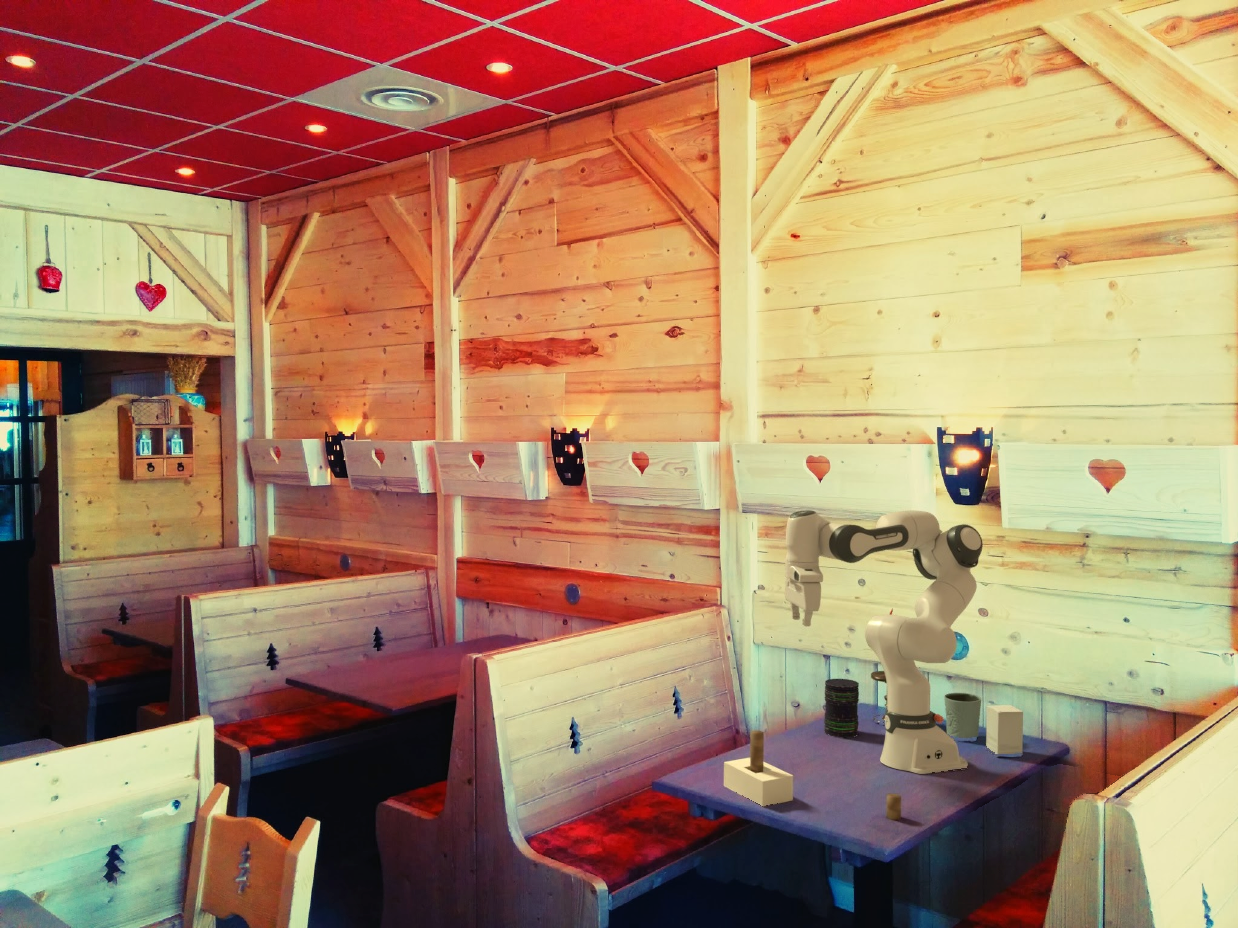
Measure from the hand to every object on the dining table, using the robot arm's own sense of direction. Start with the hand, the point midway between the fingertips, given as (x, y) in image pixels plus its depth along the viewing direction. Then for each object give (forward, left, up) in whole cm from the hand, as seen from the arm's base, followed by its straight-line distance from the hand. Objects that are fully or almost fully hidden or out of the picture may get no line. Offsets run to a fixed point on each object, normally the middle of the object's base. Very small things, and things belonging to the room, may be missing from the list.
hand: (801, 622), depth 278 cm
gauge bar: (+18, +24, -37) cm, 48 cm away
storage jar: (-20, -22, -37) cm, 48 cm away
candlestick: (-38, -32, -37) cm, 62 cm away
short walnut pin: (-9, +43, -37) cm, 58 cm away
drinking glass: (-53, -14, -37) cm, 66 cm away
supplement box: (-58, +1, -37) cm, 69 cm away
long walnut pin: (+18, +24, -37) cm, 48 cm away
